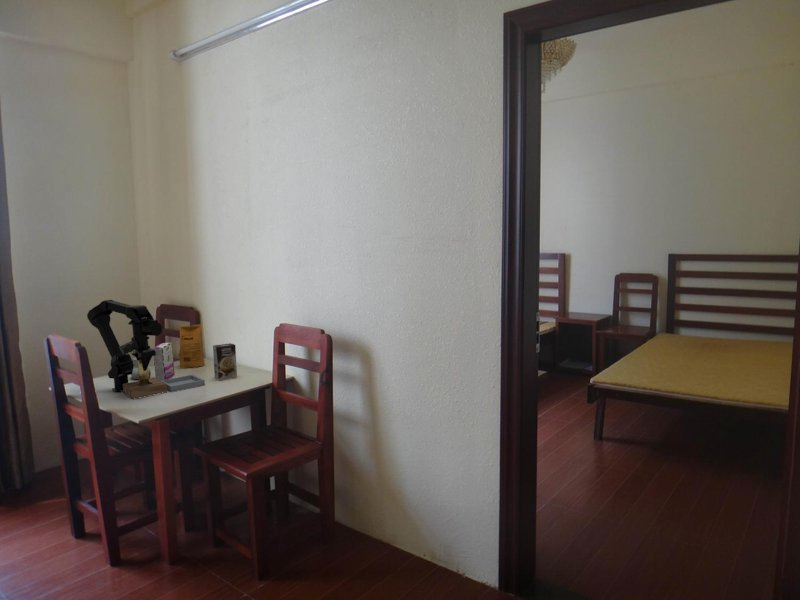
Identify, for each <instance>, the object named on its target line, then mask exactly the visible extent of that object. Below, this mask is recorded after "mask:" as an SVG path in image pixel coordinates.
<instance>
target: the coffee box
mask: <svg viewBox="0 0 800 600" xmlns="http://www.w3.org/2000/svg"><path fill="white" fill-rule="evenodd" d="M212 350H213V351H212V352H213V355H212V356H213V369H214V370H213V372H214V379H215V380H217V381H218V380H219V381H220V382H221V381H225V379H226V380H230V378H232V379H235V378H236V377H237V378H238V370H237V369H238V368H237V351H236V344H235V343H232V342H231V343H221V344H214V345H212ZM219 381H218V382H219Z"/></svg>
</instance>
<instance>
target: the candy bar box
mask: <svg viewBox="0 0 800 600" xmlns="http://www.w3.org/2000/svg"><path fill="white" fill-rule="evenodd" d="M172 345H173V342H163V343H160V344H158V345H156V346H154V347H152V349H154V350H155V351H156V355H155V356H153V362H154V363H153V364H154V373H155V374H154V375H155V378H157V379H159V380H166V379H168V378H169V379H171V378H173V377H174V376H175V364H174V352H173V346H172ZM173 375H174V376H173ZM170 377H171V378H170Z"/></svg>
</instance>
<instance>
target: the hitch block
mask: <svg viewBox="0 0 800 600" xmlns="http://www.w3.org/2000/svg"><path fill="white" fill-rule="evenodd" d="M122 392H123V394H124V395H126V396H127V395H128V396H127V397H129V398H130V397H131V399H132V398H133V399H132V400H135V399H134V398H137V399H140V398H139V397H142V398H145V397H144V396H147V397H150V396H149V395H152V396H154V395H153V394H157V393H161V394H163V393H162V392H166V393H168V390H167V386H166V383H164V382H163V381H161V380H159V379H157V378H156V377H152V378H149V382H148V383H139V380H137V381H132V382H131V381H130V382H128V383H125V384H123V391H122ZM157 395H158V394H157Z"/></svg>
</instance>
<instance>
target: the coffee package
mask: <svg viewBox="0 0 800 600" xmlns="http://www.w3.org/2000/svg"><path fill="white" fill-rule="evenodd" d="M178 358H179V368H180V367H181V368H180V369H187V367H188V368H190V367H196V368H200V367H199V366H202V367H203V366H204V365H205V358H204V353H203V336H202V324H201V323H200V324H193V325H181V324H180V325H179V352H178Z"/></svg>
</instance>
